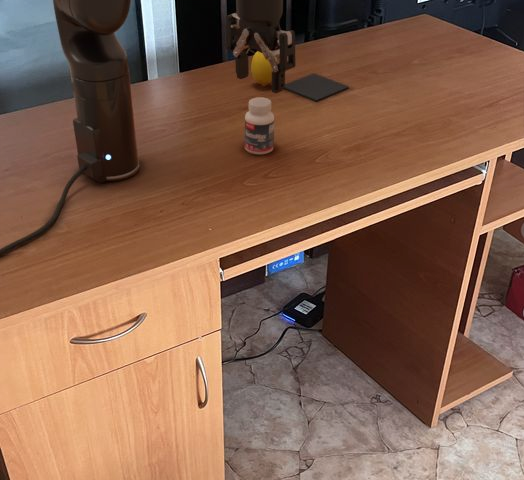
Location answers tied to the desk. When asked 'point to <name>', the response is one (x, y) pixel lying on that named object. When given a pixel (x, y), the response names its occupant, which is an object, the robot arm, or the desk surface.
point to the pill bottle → (259, 126)
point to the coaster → (315, 87)
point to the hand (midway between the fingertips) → (260, 84)
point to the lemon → (261, 69)
